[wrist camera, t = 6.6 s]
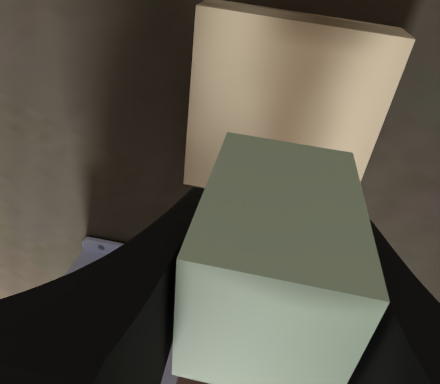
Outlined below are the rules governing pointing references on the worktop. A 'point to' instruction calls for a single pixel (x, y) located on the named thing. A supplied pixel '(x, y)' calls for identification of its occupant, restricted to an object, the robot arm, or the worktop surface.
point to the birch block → (288, 81)
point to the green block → (277, 269)
